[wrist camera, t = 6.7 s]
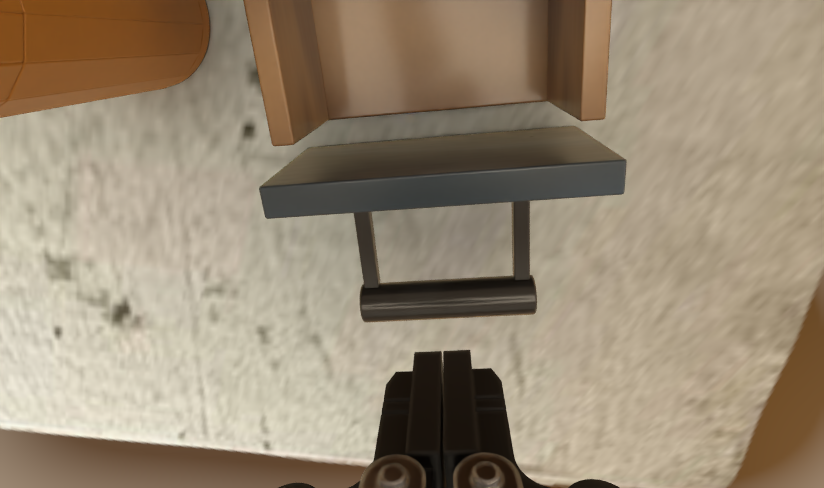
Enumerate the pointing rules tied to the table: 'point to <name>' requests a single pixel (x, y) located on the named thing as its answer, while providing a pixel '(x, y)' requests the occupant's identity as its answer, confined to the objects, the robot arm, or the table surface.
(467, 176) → the drawer
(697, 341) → the table surface
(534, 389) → the table surface
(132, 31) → the jar
